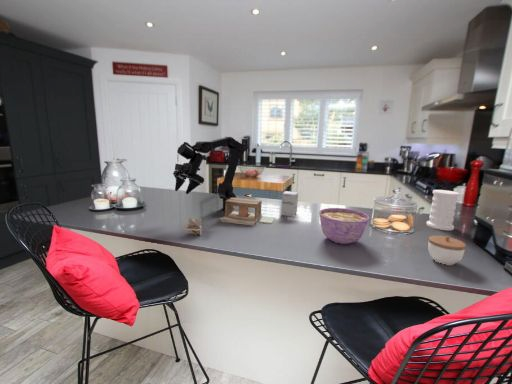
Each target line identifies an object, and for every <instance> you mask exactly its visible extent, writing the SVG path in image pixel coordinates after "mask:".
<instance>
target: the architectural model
mask: <svg viewBox="0 0 512 384" xmlns="http://www.w3.org/2000/svg"><path fill="white" fill-rule="evenodd" d="M187 225H188V226H186V225H185V227H184V228H183V229H182V230H185V231H188V232H189V234H190V235H191V234H192V235H193V234H194V235H195V236H198V235H199V236H202V235H203V234H202V232H203V230H202V229H203V228H202V218H195V217H193V218H192V217H188V224H187Z"/></svg>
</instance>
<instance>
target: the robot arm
mask: <svg viewBox="0 0 512 384" xmlns="http://www.w3.org/2000/svg"><path fill="white" fill-rule="evenodd" d="M224 146H226V147H227V149H229V152H228V153H229V161H228V164H227V165H228V166H227V168H226V172H225V175H224V179H223V181H222V182H221V183H220V182H219V183H218V187H217V188H216V190H217V195H218V198H219V199H220V200H222V208H220V209H219V210H220V211H225V201H226V200H228V199H230V198H237V196H236V194H235V193H234V187H233V186H234V185H233V181H234V178H235V175H236V171H237V168H238V164H239V160H240V159H242V157H243V156H244V153H245V151H246V148H245V146H244V144H242V143H241V142H239V141H238V140H236V139H235V138H233V137H232V136H224V137H221V138H217V139H214V140H209V141H208V140H206V141H196V142H195V144H194V145H191V144H190V143H189V142H187V141H184V142H183V143H182V144H181V145H179V146H178V147H177V152H176V153H177V154H178V155H180V156H181V157H183V158H184V159H186V160H189V161H188V162H184V163H183V164H181V163H175V166H174V171H173V173H172V175H173V177H174V179H175V186H174V187H175V188H174V191H175V192H178V191H179V189H180V188H181V187H182V186H183V185H184V183H185V182H186V179H188V185H187V188H186V190H185V194H186V195H189V194H190V193H191V192H192V191H193V190H195V189H196V188H198V187H199V186H201V185H202V184H204V182H205V178H204V177H203V176H201V175H200V174H198V171H201V168H200V167H201V164H202V163H203V161H207V160H208V159H207V156H206V155H207V154H209V153H210V152H212V151H213V150H215V149H217V148H221V147H224ZM234 209H235V206H233V210H234Z"/></svg>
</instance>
